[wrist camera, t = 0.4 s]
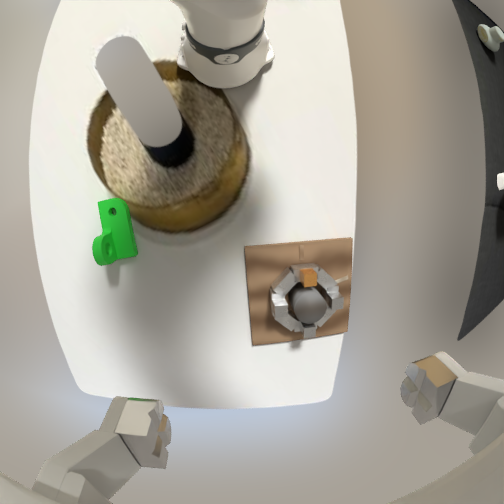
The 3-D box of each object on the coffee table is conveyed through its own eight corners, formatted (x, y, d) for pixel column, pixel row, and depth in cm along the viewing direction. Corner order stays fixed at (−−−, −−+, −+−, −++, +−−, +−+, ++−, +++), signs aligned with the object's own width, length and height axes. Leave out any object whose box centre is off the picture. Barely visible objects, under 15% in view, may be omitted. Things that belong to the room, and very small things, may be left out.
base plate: (244, 246, 53) (246, 257, 45) (350, 237, 54) (368, 246, 46) (252, 342, 59) (255, 364, 51) (345, 329, 60) (359, 347, 52)
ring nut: (268, 267, 53) (273, 277, 47) (334, 260, 54) (345, 269, 48) (271, 327, 56) (275, 342, 51) (331, 319, 57) (341, 332, 51)
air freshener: (472, 24, 39) (489, 16, 30) (484, 31, 40) (500, 24, 30) (482, 48, 42) (501, 42, 32) (494, 55, 42) (511, 50, 33)
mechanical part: (138, 253, 52) (124, 265, 44) (113, 257, 52) (96, 269, 44) (127, 195, 49) (110, 197, 41) (101, 201, 49) (83, 205, 41)
